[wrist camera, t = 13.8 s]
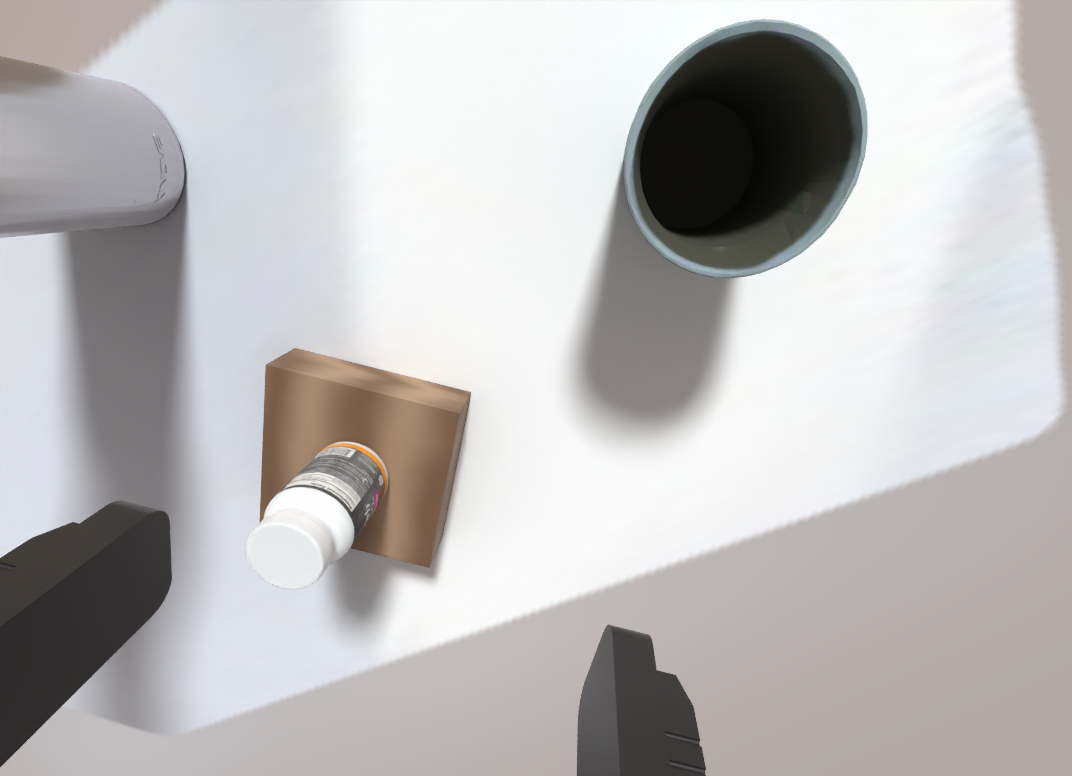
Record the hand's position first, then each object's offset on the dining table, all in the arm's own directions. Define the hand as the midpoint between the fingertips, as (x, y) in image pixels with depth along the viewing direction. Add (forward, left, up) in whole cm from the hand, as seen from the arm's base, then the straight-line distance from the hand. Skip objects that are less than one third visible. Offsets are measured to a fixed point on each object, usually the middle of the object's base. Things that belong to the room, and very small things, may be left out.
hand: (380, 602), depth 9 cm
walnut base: (-10, -16, -30) cm, 36 cm away
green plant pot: (+8, +10, -30) cm, 33 cm away
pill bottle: (-10, -16, -26) cm, 32 cm away
